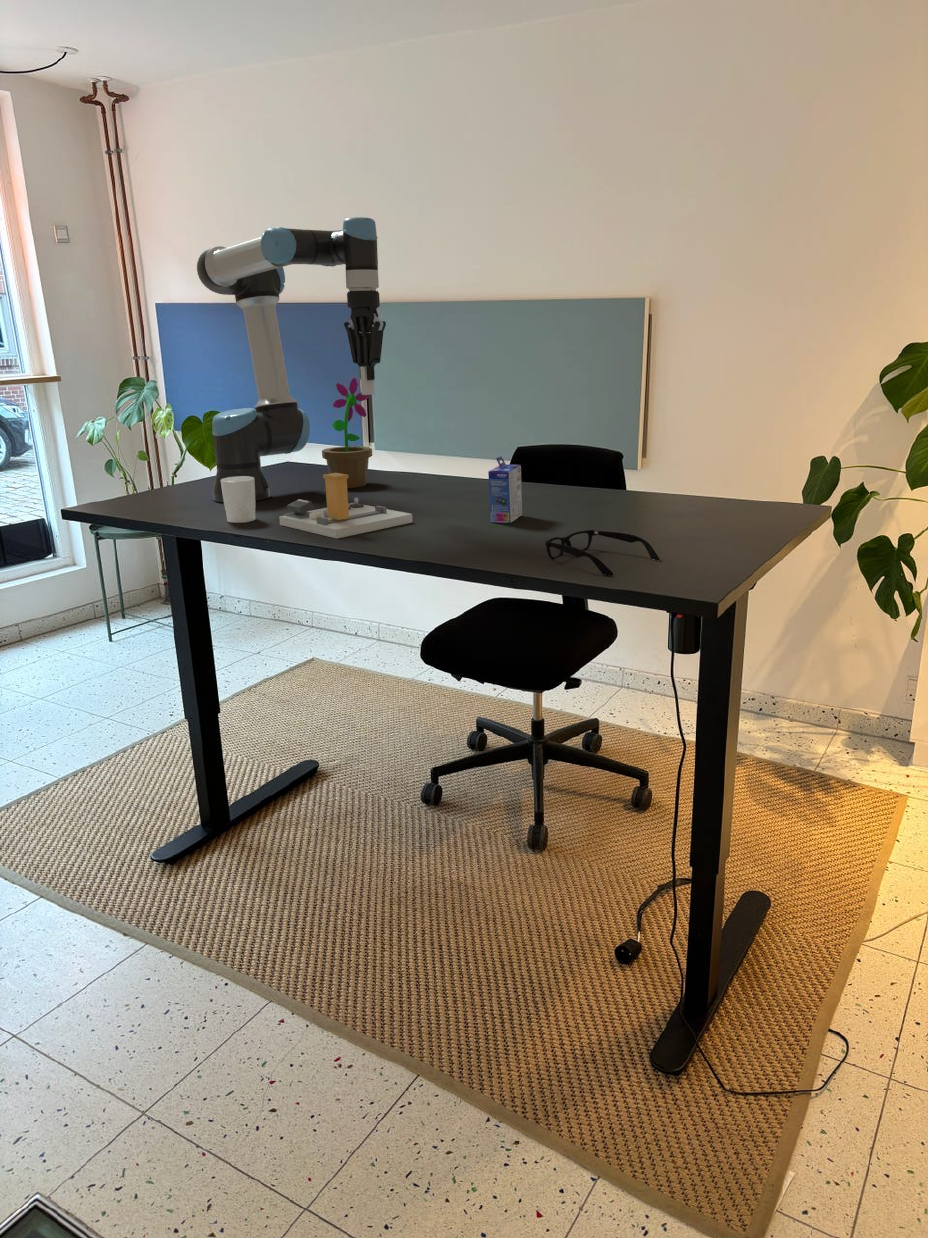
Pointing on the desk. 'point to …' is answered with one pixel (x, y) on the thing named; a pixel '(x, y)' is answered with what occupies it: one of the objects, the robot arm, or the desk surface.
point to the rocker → (300, 506)
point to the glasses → (580, 553)
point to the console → (346, 520)
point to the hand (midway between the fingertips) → (368, 394)
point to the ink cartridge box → (505, 492)
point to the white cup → (239, 498)
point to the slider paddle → (337, 495)
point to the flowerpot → (349, 457)
